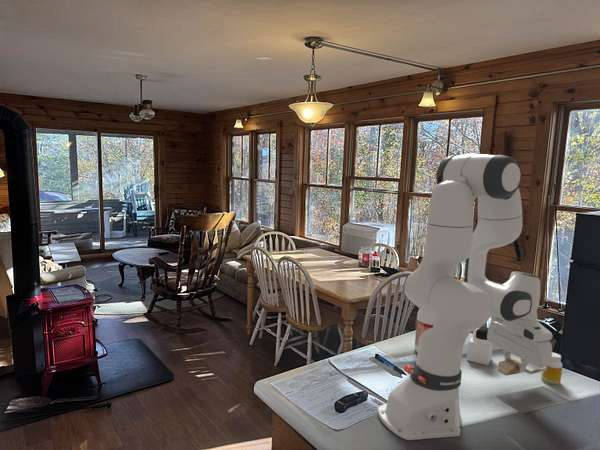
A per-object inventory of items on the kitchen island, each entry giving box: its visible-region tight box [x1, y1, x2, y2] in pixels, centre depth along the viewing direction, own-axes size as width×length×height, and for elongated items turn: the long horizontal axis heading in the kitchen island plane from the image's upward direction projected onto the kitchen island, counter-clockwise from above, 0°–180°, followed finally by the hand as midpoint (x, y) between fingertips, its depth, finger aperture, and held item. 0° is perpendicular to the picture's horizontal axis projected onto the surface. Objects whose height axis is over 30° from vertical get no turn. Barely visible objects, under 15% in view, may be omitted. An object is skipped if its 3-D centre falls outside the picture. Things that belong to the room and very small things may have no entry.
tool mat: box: [495, 385, 572, 414], centre depth 123 cm, size 20×9×1 cm, turn 112°
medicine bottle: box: [466, 325, 494, 366], centre depth 148 cm, size 7×7×12 cm
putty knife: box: [497, 357, 547, 377], centre depth 128 cm, size 15×6×3 cm, turn 112°
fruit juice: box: [414, 308, 435, 353], centre depth 152 cm, size 9×9×28 cm
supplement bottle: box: [540, 351, 563, 387], centre depth 133 cm, size 5×5×10 cm
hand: (514, 367), depth 127 cm, fingers closed on putty knife, 3 cm apart
